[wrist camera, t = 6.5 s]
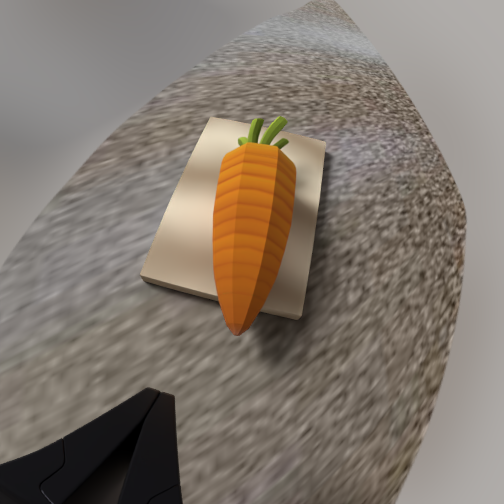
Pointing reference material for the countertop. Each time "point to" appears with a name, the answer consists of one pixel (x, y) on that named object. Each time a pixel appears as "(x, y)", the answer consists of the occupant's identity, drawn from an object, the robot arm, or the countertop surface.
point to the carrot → (251, 223)
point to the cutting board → (201, 220)
